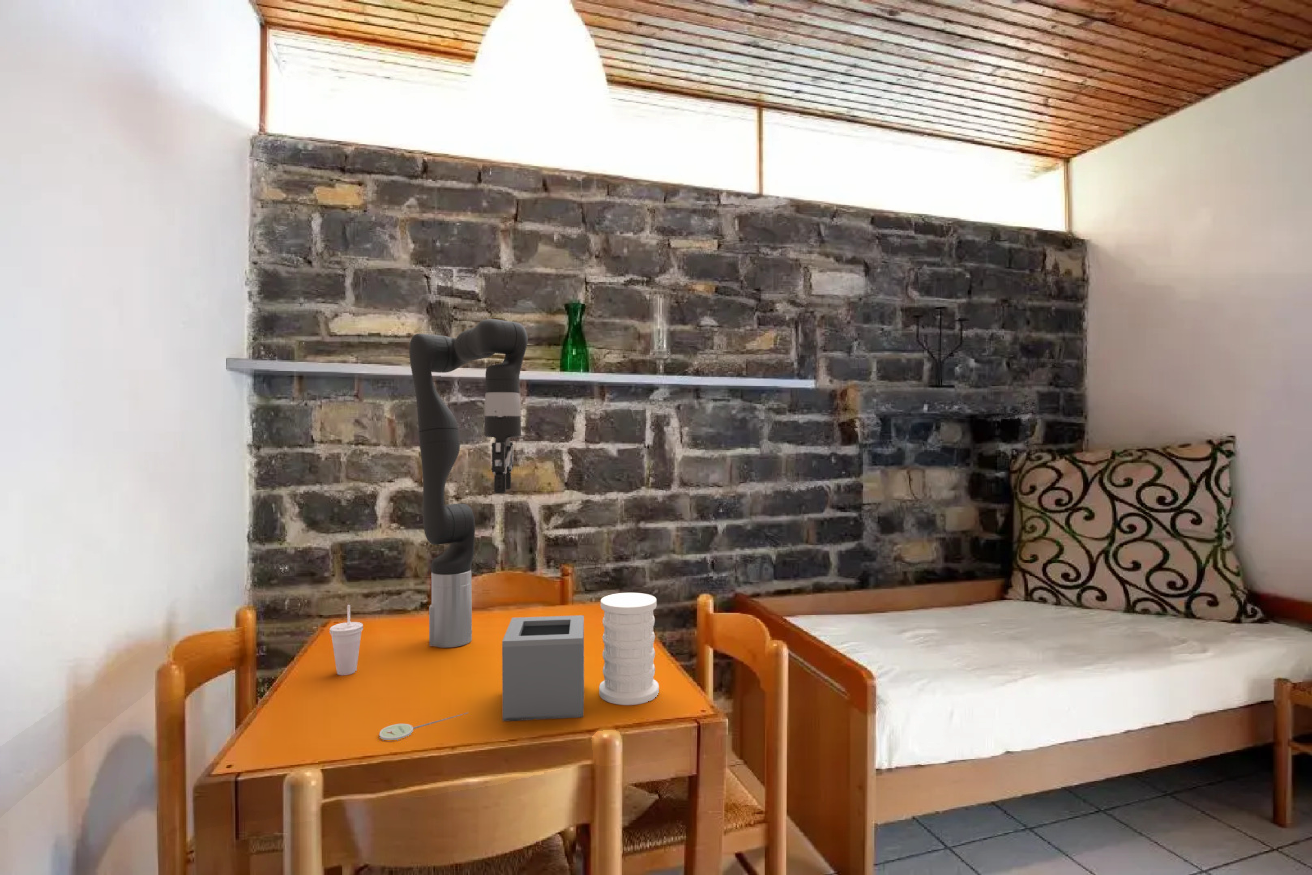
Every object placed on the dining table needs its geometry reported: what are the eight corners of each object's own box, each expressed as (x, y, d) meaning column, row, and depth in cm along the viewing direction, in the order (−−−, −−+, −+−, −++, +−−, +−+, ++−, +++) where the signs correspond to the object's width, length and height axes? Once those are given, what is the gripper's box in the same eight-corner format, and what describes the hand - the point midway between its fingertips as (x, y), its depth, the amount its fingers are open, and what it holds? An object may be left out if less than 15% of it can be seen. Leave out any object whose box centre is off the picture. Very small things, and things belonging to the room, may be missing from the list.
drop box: (502, 721, 108) (502, 641, 108) (512, 688, 122) (512, 617, 122) (583, 717, 110) (583, 638, 110) (583, 685, 124) (583, 615, 124)
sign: (473, 716, 110) (384, 741, 101) (473, 721, 110) (384, 746, 101) (462, 706, 114) (375, 729, 105) (462, 710, 114) (375, 734, 105)
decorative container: (591, 686, 124) (591, 595, 124) (645, 676, 128) (644, 589, 128) (610, 709, 113) (610, 610, 113) (668, 698, 118) (668, 603, 117)
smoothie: (370, 668, 133) (369, 603, 133) (344, 679, 127) (343, 611, 127) (349, 664, 136) (348, 600, 136) (322, 674, 130) (322, 607, 130)
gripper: (489, 415, 138) (490, 488, 138) (478, 413, 124) (479, 494, 124) (524, 415, 139) (524, 488, 139) (516, 413, 125) (517, 494, 125)
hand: (503, 491), depth 132 cm, fingers open, 8 cm apart
